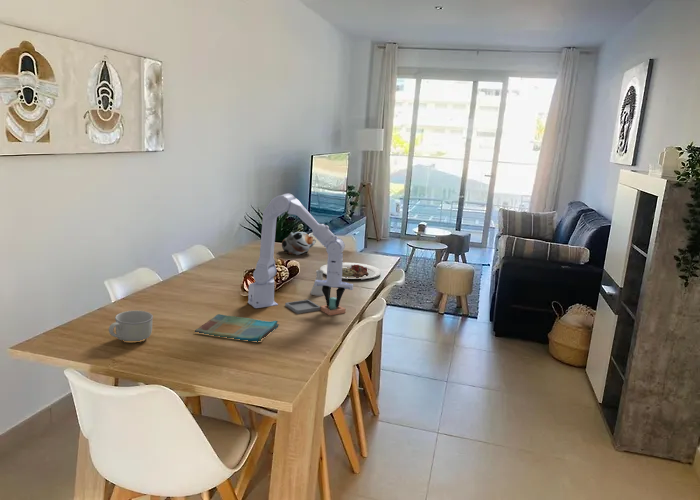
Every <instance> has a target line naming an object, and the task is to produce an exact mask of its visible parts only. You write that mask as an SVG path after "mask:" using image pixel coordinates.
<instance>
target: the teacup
mask: <svg viewBox="0 0 700 500" xmlns="http://www.w3.org/2000/svg"><path fill="white" fill-rule="evenodd" d="M153 318H154V316H153V314H152V313H151V312H148V311H145V310H127V311H122V312H120V313H118V314H116V315H115V316H114V320H115V322H112V323H111V324H110V325H109V327H108V333H109V334H110V335H111V336H112V337H114V338H117V340H121V341H122V340H124V341H140V340H143V339H146V338H147V339H148V338H149V337H151V335H152V331H153ZM114 329H115V332H114ZM147 339H146V340H147Z"/></svg>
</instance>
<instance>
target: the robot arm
mask: <svg viewBox="0 0 700 500" xmlns="http://www.w3.org/2000/svg"><path fill="white" fill-rule="evenodd" d="M286 212H287V214H288V215H294V216H297V217H298V218H300V220H301V221H302V222H303V223H305V225H307V226H308V227H309V229H311V230H312V235H313V236H312V237H313V238H314V239H315V240H316V241H318V242H319V243H320V244H321V245H322V246H323V247H324V248H325V250H326V253H327V263H326V264H327V275H326V279H323V280H316V279H315V280H316V281H315V280H314V282H315V286H323V287H322V292H323V293H324V299H325V302H326V305H327V306H329V298H331V293H332V292H331V290H332V288H336V298H337V301H336V307H338V306H339V305H340V303H341V299H342V297H343V294H344V292H345V290H349V291H352V290H354V283H351V282H350V283H349V282H346V281H342V280H343V279H342V267H343V263H344V262H343V261H344V259H343V257H344V255H343V254H344V250H345V247H346V246H345V245H346V244H345V242H344V241H343V239H342V238H339V236H338V235H335V234H334V233H333V232H332V231H331V230H330V226H329V225H327V224H325V223H319V222H318V221H317V220H316V219H315V217H314V216H313V215H312V214H311V213H310V212H309V211H308V209H306V206H304V205H303V203H301V201H300V200H299V199H298V198H296V197H295V195H293V194H291V193H288V192H286V193H283V194H281V195H280V194H279V195H277V196H275V197H273V198H272V199H270V202H269V203H268V204H267V206H265V208H264V210H263V212H262V222H261V223H262V224H261V235H260V236H261V237H260V247H259V258H258V260H257V261H256V263H255V264H256V266H255V269H254V271H253V273H252V275H253V279H254V282H252V283H249V285H248V295H247V297H248V301H247V303H248V304H249V305H250V306H252V307H253V308H254V309H262V308H268V307H272V306H273V307H274V306H278V305H279V303H277V302H276V301H275V279H274V277H275V276H276V275H277V267H276V259H275V258H274V255H275V254H274V253H275V243H276V231H277V218H278V217H279V216H280V215H282V214H283V213H286Z"/></svg>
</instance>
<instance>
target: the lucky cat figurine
mask: <svg viewBox="0 0 700 500" xmlns="http://www.w3.org/2000/svg"><path fill="white" fill-rule="evenodd" d="M316 243H317V239H316V238H314V236H310V235H309V234H308V233H307V232H305V231H295V232H292V231H291V232H290V233H289V235H288V236H287V237H285V238H284V239H283V240H282V242H281V247H282V250H283V251H284V252H285V253H287V254H288V255H290V254H296V255H295V256H299V255H301V254H304V253H306V252H309V250H310V249H311V248H312V247H313V246H314V245H315V244H316Z"/></svg>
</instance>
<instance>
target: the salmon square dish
mask: <svg viewBox="0 0 700 500" xmlns="http://www.w3.org/2000/svg"><path fill="white" fill-rule="evenodd" d="M319 306H320V307H321V310H320V311H321V312H323V313H325V314H327V315H328V316H334V315H341V314H346V312H347V311H346V308H345V307H343V306H341V305H340V304H339V306H338V307H337V309H334V310H330V309H329V306H327V304H325V305H319Z"/></svg>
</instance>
